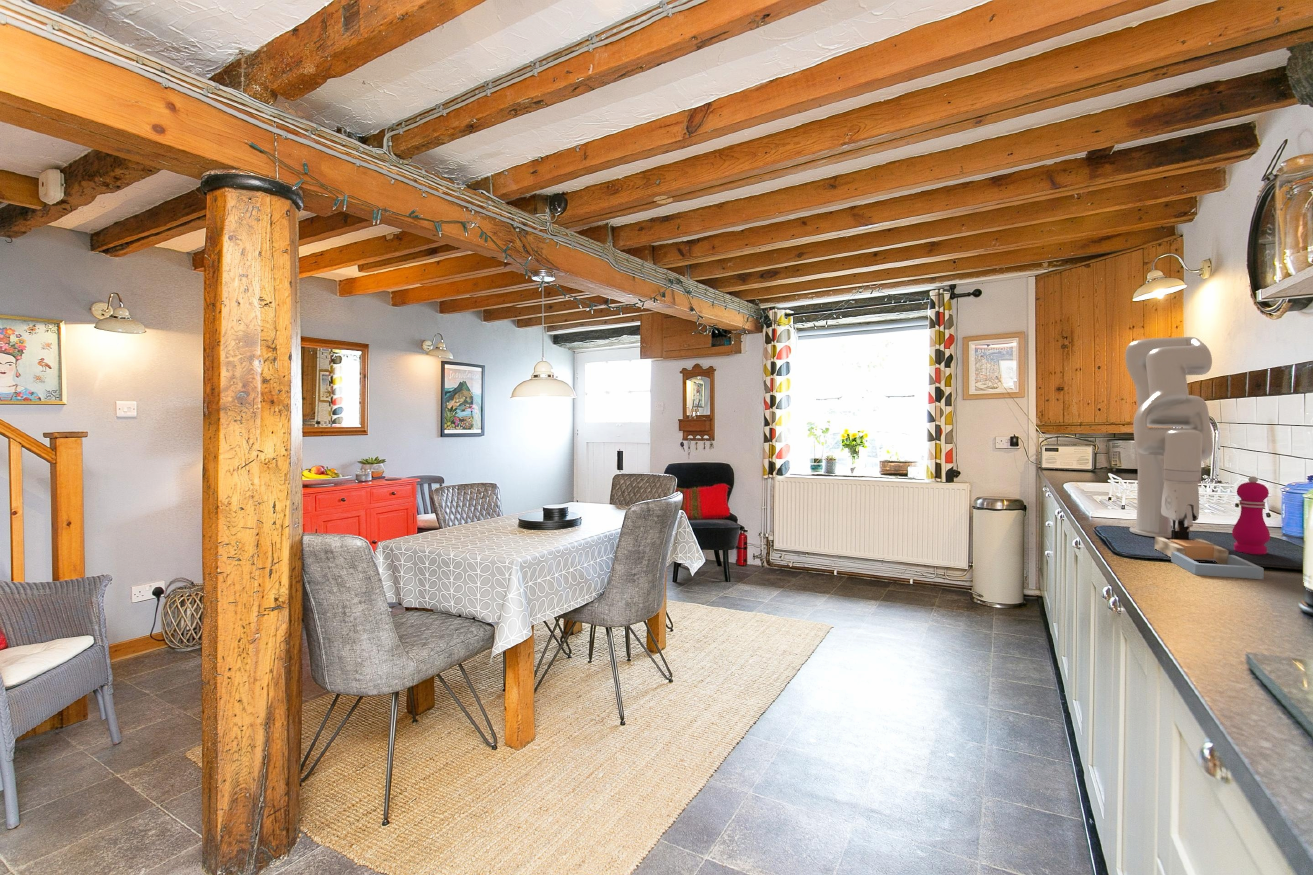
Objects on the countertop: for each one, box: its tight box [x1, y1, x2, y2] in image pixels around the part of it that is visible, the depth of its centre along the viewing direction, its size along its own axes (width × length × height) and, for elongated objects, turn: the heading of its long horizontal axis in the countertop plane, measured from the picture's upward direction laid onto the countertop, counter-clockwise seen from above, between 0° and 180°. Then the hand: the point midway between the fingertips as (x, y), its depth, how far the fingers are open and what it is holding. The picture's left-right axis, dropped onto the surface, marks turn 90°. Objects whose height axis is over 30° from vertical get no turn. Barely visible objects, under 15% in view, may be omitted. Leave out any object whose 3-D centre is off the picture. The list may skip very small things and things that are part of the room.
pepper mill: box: [1231, 475, 1271, 555], centre depth 160 cm, size 7×7×20 cm
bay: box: [1170, 552, 1265, 580], centre depth 145 cm, size 12×12×2 cm
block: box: [1168, 539, 1214, 560], centre depth 156 cm, size 7×6×4 cm
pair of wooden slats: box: [1154, 537, 1230, 565], centre depth 157 cm, size 13×10×4 cm
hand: (1179, 545), depth 162 cm, fingers closed
